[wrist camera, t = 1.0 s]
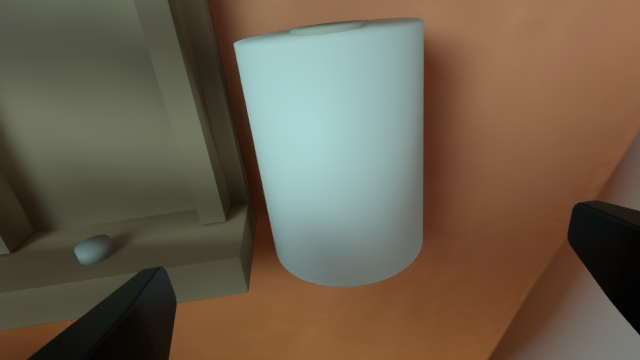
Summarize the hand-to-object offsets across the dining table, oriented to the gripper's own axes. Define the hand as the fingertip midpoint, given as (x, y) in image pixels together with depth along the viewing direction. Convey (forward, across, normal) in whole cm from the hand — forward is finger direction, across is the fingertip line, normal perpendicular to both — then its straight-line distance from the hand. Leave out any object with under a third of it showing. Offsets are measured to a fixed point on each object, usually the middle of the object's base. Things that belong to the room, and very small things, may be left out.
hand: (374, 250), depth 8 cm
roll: (+9, 0, 0) cm, 9 cm away
